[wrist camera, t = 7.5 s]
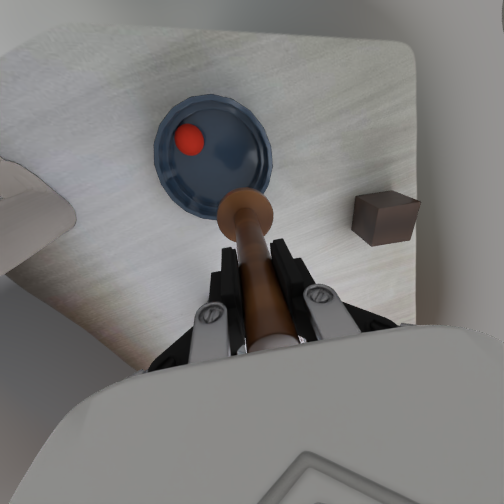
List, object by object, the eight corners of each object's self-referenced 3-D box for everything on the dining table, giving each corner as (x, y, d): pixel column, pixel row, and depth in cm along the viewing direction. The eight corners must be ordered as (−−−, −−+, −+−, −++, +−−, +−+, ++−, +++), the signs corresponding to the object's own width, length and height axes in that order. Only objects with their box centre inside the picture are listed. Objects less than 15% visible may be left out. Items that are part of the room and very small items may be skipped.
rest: (355, 196, 40) (378, 208, 34) (392, 190, 40) (421, 201, 34) (351, 230, 44) (371, 246, 38) (385, 224, 44) (410, 240, 38)
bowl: (146, 107, 30) (133, 104, 26) (261, 91, 31) (266, 85, 26) (181, 215, 38) (175, 227, 34) (270, 201, 39) (276, 211, 35)
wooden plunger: (211, 192, 19) (186, 315, 7) (269, 182, 19) (347, 287, 7) (223, 242, 21) (220, 397, 9) (273, 234, 21) (336, 376, 9)
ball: (173, 125, 31) (167, 126, 28) (201, 121, 31) (198, 121, 28) (181, 155, 33) (176, 159, 30) (207, 151, 33) (205, 155, 30)
